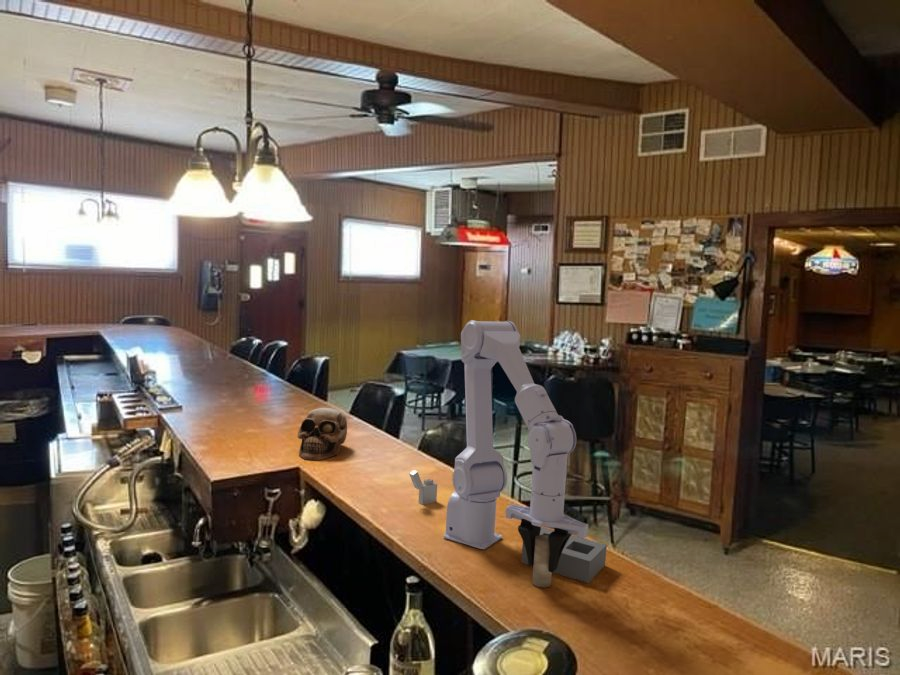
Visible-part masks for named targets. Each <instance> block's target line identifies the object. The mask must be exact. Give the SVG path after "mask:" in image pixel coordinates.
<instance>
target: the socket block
mask: <svg viewBox="0 0 900 675" xmlns="http://www.w3.org/2000/svg"><path fill="white" fill-rule="evenodd" d="M552 532H554V529H551V528H548V527H544V526H543V527H541V531H540V535H547V536H548V535H549V534H550V533H552ZM607 547H608V546H607V544H605V543H603V542H602V543H601V542H598V541H594V540H591V539H586V538H584V539H582V538H579V537H578V536H577V535H574V534H572V535H571V536H570V538H569V540H568V541H567V543H566V545H565V547H564V549H563V551H562V553H561V556H560V559H559V562H558V566H557V569H556V570H555V571H554V572H553V574H557V575H560V576H563V577H567V578H570V579H574V580H576V579H577V581H581V582H583V581H584V582H583V583H587V584H589V583H590V582H591V581H592V580H593V579H594V578H595V577H596V576H597V574H599V572H600V571H602V570H603V569H604V567H605V566H606V560H607V559H606V558H607ZM521 550H522V551H521V562H520V563H521V564H524V565H528V558H527V553H526V549H525V545H524V542H523V541H522V549H521Z"/></svg>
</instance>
